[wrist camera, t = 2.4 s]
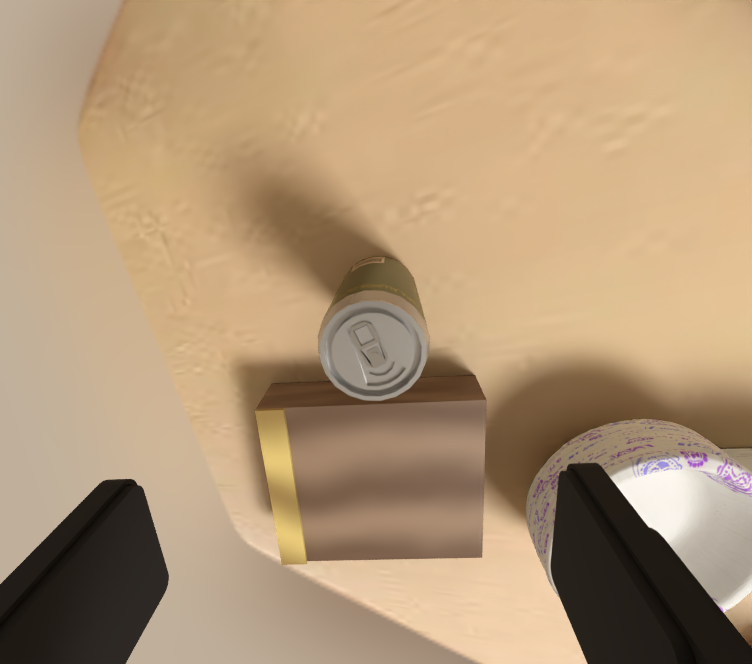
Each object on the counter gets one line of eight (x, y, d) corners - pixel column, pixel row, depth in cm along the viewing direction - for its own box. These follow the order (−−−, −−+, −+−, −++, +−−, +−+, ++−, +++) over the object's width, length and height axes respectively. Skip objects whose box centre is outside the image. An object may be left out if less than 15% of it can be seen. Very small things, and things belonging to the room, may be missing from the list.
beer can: (329, 274, 30) (292, 326, 19) (396, 241, 29) (401, 274, 18) (363, 338, 31) (348, 421, 20) (428, 308, 30) (451, 378, 19)
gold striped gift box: (271, 383, 33) (254, 411, 29) (474, 375, 32) (487, 402, 28) (293, 523, 37) (281, 564, 33) (472, 519, 37) (482, 560, 32)
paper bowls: (704, 381, 32) (802, 441, 24) (696, 535, 36) (776, 625, 29) (504, 413, 33) (537, 479, 26) (521, 557, 38) (554, 648, 30)
